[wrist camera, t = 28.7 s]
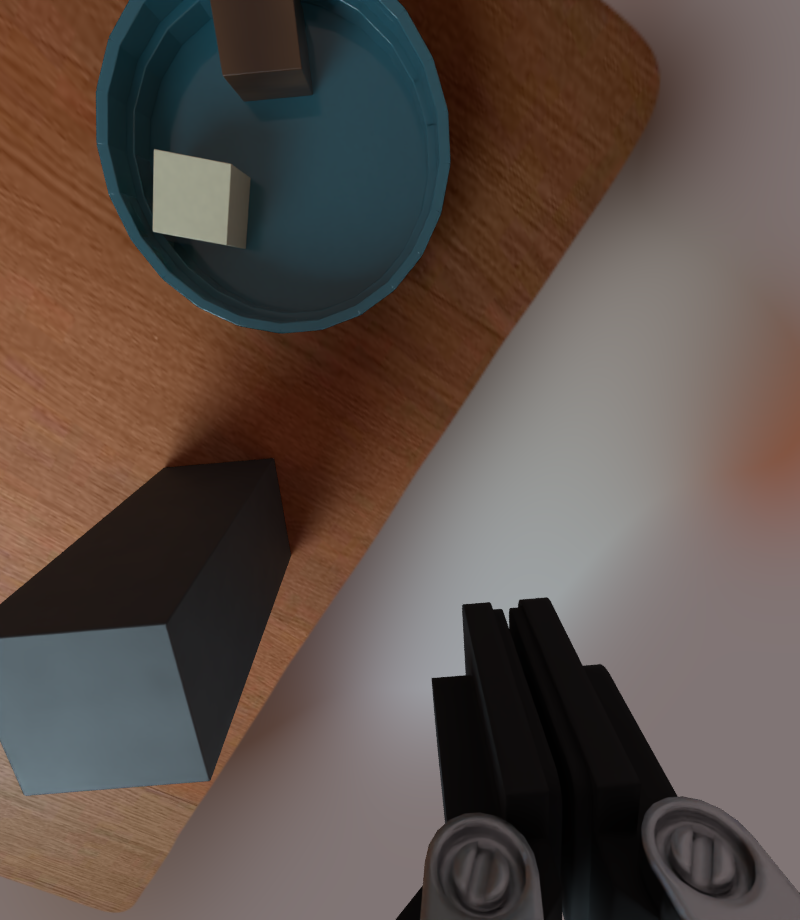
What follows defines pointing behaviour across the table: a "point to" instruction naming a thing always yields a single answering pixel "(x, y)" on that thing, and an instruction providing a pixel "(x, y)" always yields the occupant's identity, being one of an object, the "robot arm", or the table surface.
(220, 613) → the stand
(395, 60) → the bowl
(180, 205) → the cream block
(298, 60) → the walnut block
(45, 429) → the table surface
